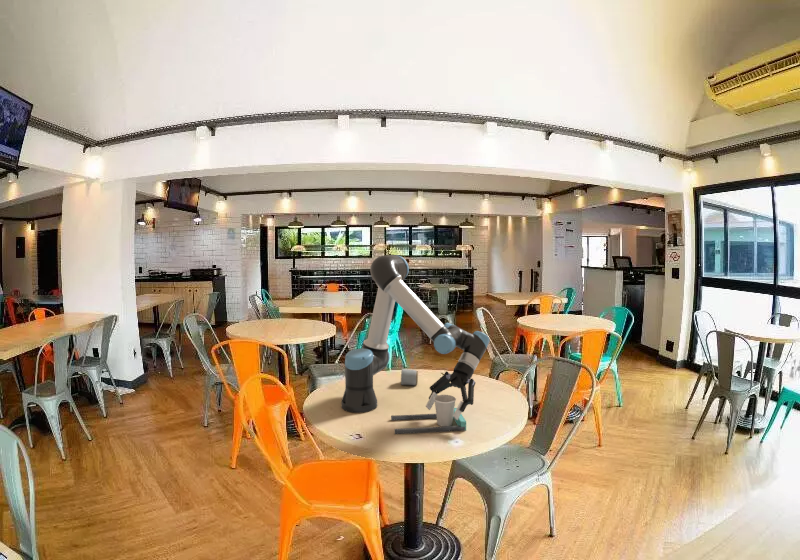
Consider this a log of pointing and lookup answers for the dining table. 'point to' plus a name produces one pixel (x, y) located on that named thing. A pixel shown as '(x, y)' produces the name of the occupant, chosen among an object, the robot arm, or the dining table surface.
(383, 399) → the dining table surface
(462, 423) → the teal band
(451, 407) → the dixie cup
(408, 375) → the ceramic mug
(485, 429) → the dining table surface
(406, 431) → the guide rails
